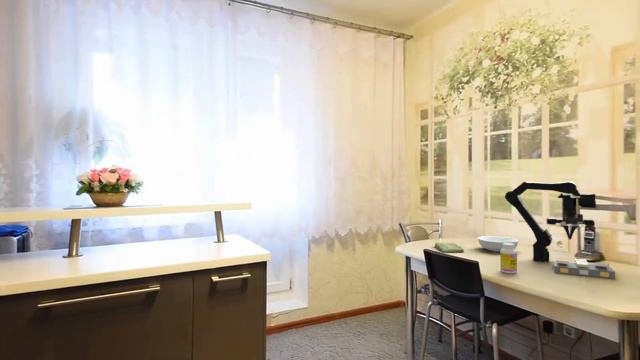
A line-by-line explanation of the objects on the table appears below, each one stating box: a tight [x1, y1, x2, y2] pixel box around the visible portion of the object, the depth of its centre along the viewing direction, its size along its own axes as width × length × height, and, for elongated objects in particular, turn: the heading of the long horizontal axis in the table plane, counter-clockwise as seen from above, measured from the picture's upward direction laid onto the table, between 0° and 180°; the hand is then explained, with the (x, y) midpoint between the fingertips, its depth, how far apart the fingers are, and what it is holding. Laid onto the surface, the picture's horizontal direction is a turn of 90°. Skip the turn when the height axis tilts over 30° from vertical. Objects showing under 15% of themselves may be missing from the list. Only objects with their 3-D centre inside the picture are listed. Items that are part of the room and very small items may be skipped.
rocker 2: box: [574, 258, 589, 267], centre depth 155 cm, size 4×6×1 cm, turn 151°
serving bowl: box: [477, 235, 519, 253], centre depth 202 cm, size 21×21×7 cm
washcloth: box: [434, 242, 465, 253], centre depth 207 cm, size 13×18×3 cm
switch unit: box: [551, 260, 616, 280], centre depth 155 cm, size 21×10×3 cm, turn 61°
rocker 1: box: [556, 258, 570, 264], centre depth 158 cm, size 4×6×1 cm, turn 151°
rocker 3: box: [593, 262, 610, 267], centre depth 151 cm, size 4×6×1 cm, turn 151°
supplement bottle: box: [499, 243, 518, 275], centre depth 158 cm, size 7×7×13 cm
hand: (569, 239), depth 170 cm, fingers closed
